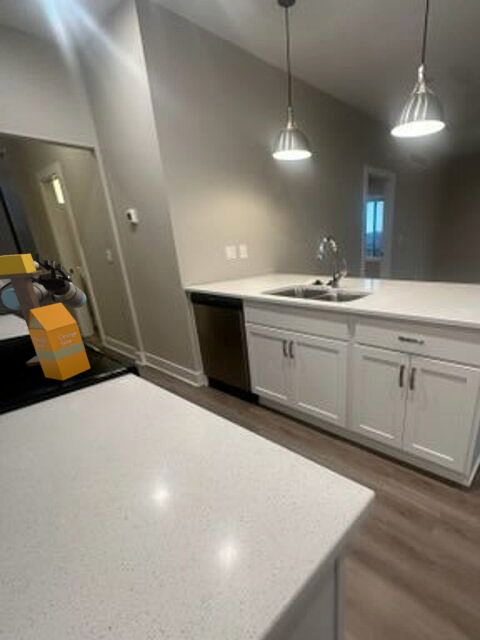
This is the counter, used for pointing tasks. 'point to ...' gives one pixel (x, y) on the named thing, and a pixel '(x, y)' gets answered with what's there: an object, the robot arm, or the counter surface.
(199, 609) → the counter surface
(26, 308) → the tall stand
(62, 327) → the orange juice
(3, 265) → the yellow rectangular block
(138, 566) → the counter surface
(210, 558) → the counter surface
